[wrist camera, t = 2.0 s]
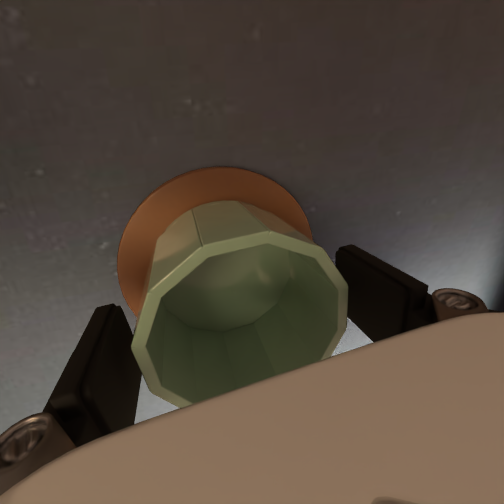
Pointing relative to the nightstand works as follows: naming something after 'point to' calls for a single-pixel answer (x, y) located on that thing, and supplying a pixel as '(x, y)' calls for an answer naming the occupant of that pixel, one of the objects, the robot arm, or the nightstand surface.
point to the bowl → (234, 303)
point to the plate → (185, 198)
